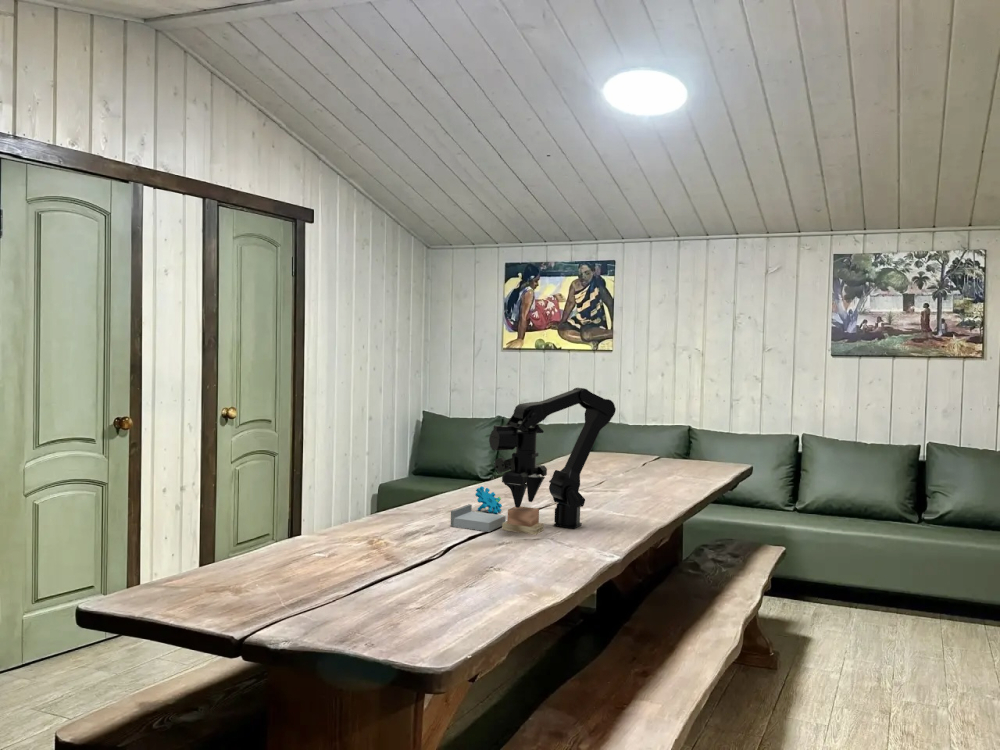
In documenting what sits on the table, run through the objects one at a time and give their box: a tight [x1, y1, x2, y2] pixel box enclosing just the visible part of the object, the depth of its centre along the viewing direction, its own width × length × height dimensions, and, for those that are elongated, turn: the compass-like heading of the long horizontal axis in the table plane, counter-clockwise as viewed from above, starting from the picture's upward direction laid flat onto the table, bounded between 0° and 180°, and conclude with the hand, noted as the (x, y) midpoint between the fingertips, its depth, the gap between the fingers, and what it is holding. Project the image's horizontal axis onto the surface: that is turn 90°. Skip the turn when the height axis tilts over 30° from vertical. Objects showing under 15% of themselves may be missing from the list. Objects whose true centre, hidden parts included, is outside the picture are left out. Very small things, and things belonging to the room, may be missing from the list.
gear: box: [475, 485, 503, 515], centre depth 246 cm, size 11×6×10 cm
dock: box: [449, 503, 507, 533], centre depth 227 cm, size 12×11×4 cm
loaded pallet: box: [501, 505, 545, 535], centre depth 223 cm, size 10×6×6 cm, turn 65°
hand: (524, 504), depth 223 cm, fingers open, 9 cm apart
